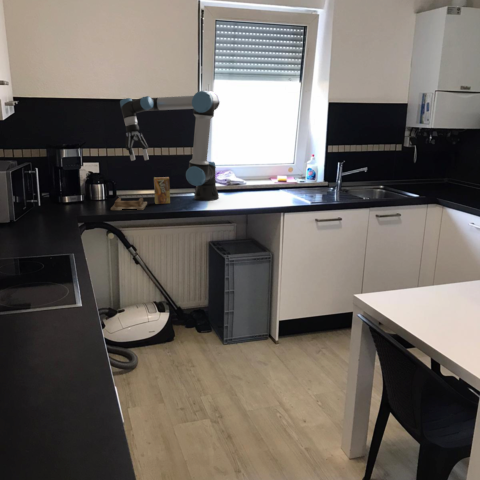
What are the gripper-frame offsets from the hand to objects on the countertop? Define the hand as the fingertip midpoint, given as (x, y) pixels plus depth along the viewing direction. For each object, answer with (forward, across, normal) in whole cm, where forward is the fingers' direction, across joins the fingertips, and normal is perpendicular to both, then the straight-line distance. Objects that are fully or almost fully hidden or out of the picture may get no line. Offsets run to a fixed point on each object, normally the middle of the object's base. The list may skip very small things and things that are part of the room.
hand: (140, 160), depth 319 cm
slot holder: (+26, +17, -3) cm, 32 cm away
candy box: (+28, 0, +8) cm, 30 cm away
